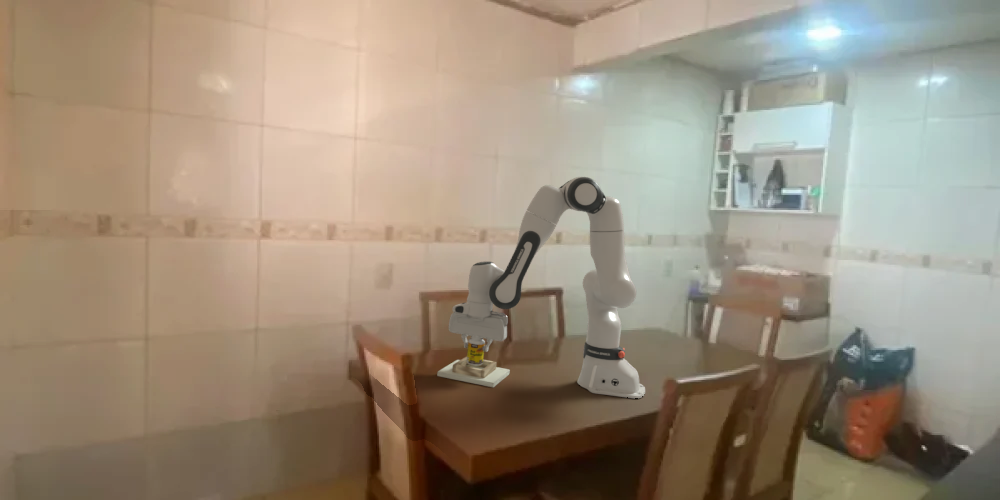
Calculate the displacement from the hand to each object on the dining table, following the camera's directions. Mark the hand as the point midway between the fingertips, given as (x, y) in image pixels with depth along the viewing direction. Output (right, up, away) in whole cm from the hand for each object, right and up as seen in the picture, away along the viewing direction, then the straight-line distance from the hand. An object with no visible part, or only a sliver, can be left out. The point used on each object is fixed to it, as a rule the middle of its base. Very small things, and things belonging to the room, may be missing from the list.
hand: (475, 349), depth 181 cm
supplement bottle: (0, -5, +1) cm, 5 cm away
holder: (-1, -9, +1) cm, 9 cm away
